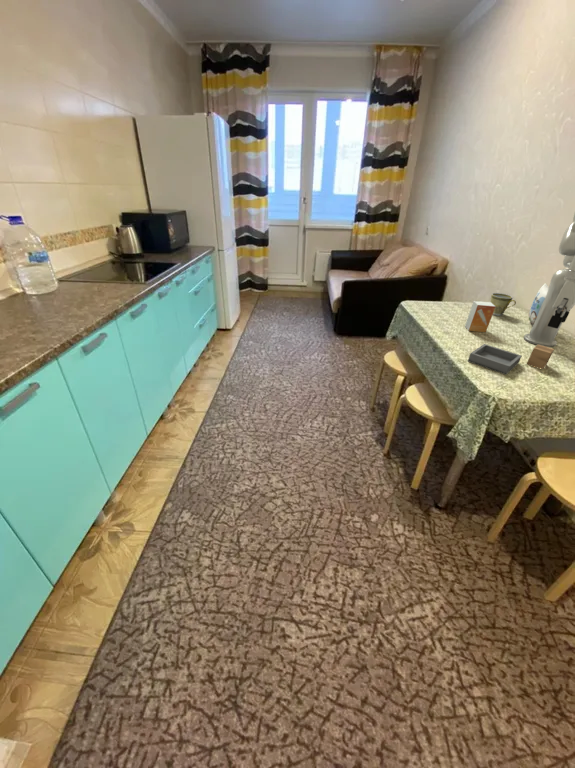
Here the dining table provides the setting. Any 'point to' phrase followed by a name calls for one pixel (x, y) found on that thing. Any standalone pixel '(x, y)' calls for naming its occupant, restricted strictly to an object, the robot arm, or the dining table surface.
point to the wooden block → (540, 356)
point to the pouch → (538, 303)
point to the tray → (494, 358)
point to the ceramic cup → (501, 302)
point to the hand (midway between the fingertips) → (556, 324)
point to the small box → (479, 316)
